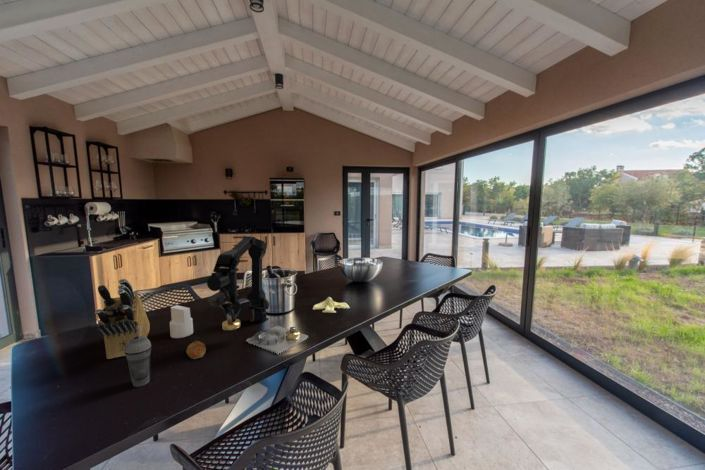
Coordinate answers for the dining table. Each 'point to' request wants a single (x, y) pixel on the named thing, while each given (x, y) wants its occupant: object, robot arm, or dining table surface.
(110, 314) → the knife block
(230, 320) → the gear
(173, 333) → the cylinder with rectangular tab
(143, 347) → the beverage cup
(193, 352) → the pastry
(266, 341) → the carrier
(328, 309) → the bird figurine
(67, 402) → the dining table surface
